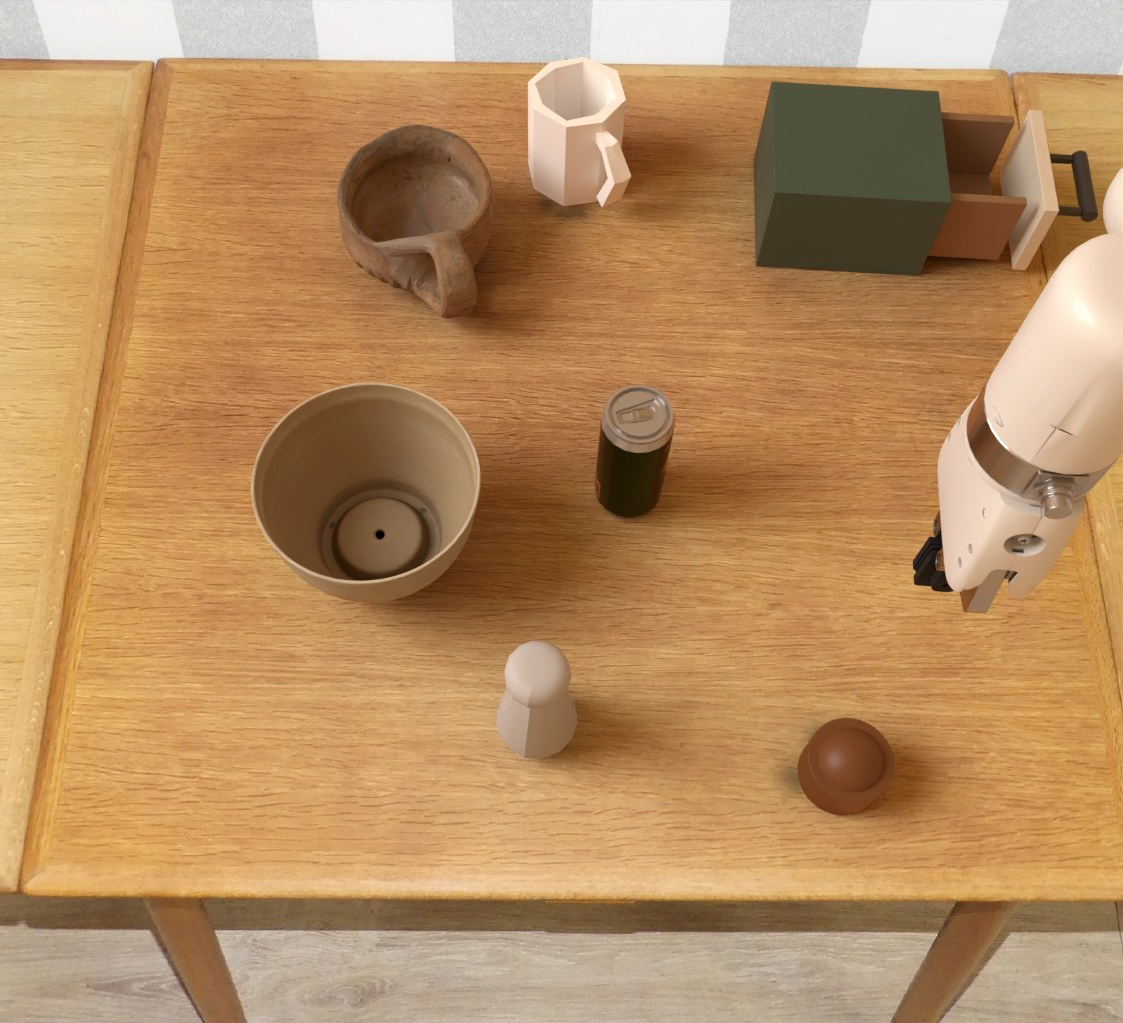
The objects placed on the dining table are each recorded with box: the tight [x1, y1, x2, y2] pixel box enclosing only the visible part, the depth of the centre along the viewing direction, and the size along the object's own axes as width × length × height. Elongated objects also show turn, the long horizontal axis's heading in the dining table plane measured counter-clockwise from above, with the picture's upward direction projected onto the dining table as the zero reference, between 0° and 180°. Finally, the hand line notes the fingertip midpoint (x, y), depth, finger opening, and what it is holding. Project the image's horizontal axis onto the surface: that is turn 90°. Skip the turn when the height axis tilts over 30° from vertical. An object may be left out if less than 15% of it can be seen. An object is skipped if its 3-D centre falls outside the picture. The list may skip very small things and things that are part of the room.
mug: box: [527, 56, 632, 208], centre depth 109 cm, size 12×9×10 cm
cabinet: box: [753, 81, 952, 277], centre depth 108 cm, size 15×13×10 cm
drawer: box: [927, 109, 1099, 271], centre depth 108 cm, size 18×11×8 cm, turn 87°
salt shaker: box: [495, 640, 579, 760], centre depth 83 cm, size 6×6×13 cm
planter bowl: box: [250, 381, 482, 604], centre depth 91 cm, size 16×16×11 cm
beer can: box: [594, 384, 676, 519], centre depth 93 cm, size 5×5×12 cm
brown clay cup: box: [336, 124, 494, 319], centre depth 105 cm, size 18×14×10 cm
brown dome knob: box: [797, 717, 895, 816], centre depth 86 cm, size 6×6×5 cm
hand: (936, 575), depth 80 cm, fingers closed
